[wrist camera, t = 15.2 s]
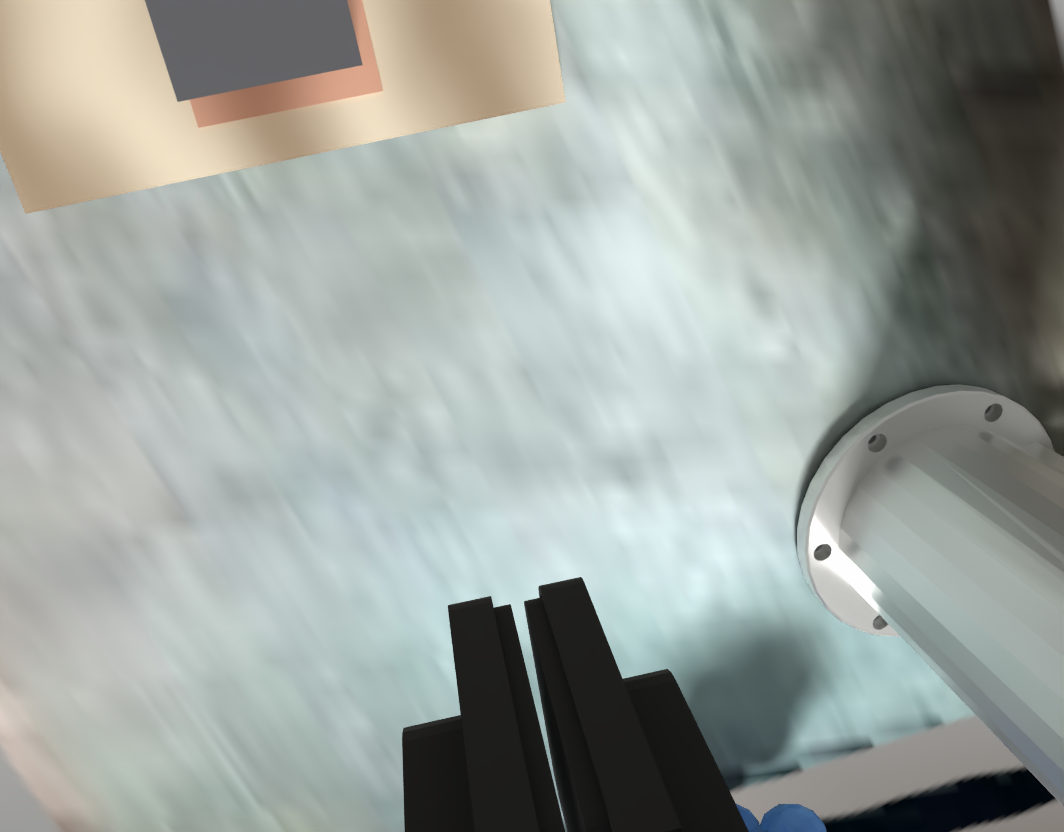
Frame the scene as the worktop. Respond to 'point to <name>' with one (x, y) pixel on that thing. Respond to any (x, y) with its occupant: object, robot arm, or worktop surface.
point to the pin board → (247, 92)
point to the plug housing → (250, 42)
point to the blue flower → (784, 819)
